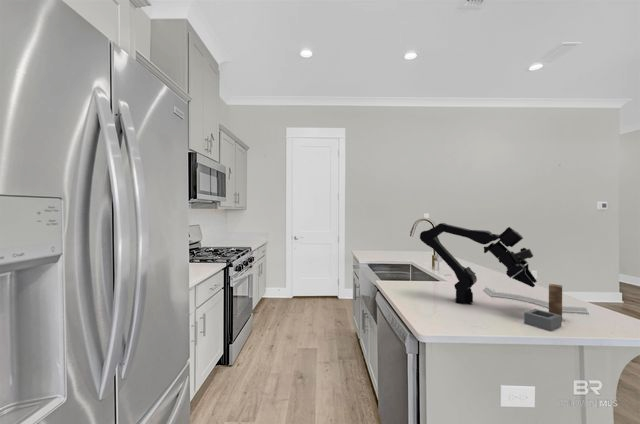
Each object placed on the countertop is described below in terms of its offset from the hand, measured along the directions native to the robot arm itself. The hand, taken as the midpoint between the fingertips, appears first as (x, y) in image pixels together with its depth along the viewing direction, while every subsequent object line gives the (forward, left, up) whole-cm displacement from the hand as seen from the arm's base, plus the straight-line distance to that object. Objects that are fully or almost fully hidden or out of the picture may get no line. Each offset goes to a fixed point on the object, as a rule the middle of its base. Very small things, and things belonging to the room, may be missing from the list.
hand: (535, 284), depth 118 cm
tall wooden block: (+6, -2, -12) cm, 14 cm away
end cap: (0, -11, -12) cm, 17 cm away
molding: (+3, +22, -13) cm, 25 cm away
